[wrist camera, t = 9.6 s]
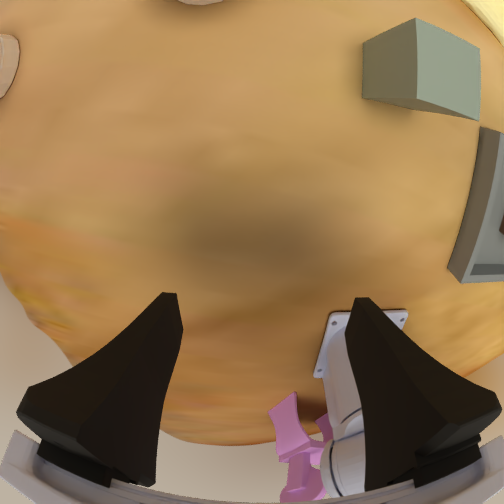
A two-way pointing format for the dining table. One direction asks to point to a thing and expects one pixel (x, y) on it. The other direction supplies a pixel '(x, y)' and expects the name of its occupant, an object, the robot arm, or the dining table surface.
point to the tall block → (423, 70)
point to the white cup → (8, 61)
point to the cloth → (490, 15)
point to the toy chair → (299, 451)
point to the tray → (483, 217)
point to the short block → (502, 226)
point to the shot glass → (200, 2)
